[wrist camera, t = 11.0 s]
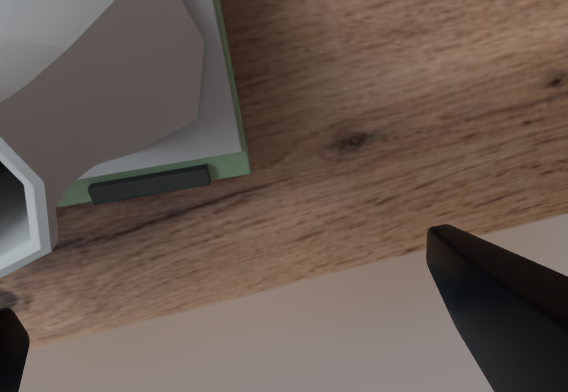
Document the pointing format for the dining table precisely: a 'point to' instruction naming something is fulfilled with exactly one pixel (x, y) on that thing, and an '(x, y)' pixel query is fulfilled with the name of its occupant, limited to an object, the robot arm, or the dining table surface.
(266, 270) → the dining table surface
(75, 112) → the flask
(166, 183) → the kitchen scale
